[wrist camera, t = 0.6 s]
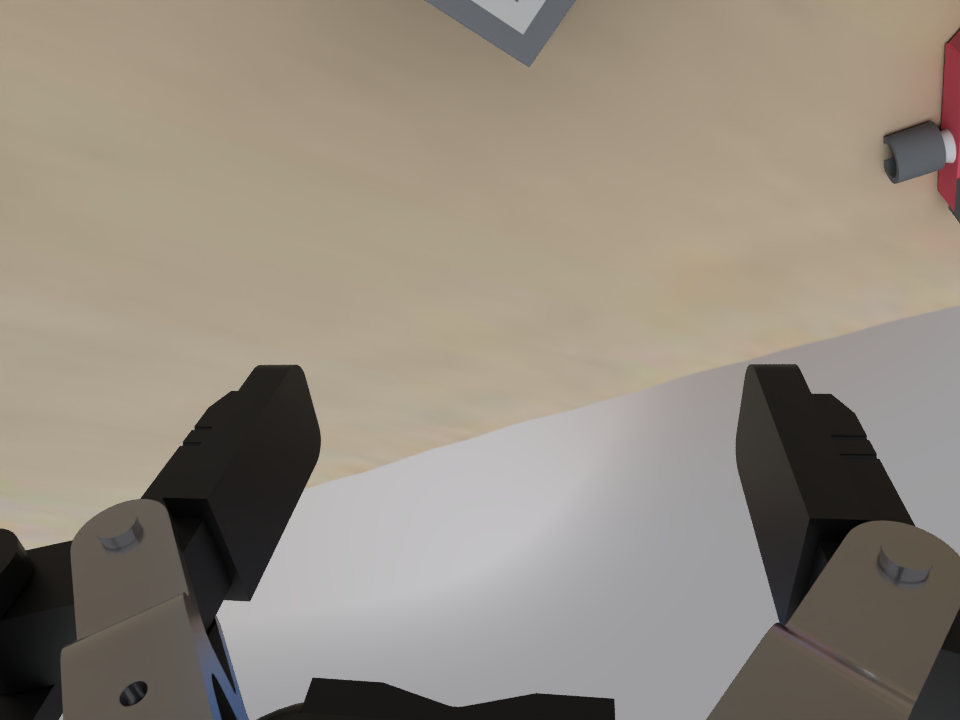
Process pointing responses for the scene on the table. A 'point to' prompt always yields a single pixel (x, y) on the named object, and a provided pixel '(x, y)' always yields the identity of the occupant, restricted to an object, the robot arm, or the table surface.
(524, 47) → the power strip
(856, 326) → the table surface
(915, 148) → the race car
